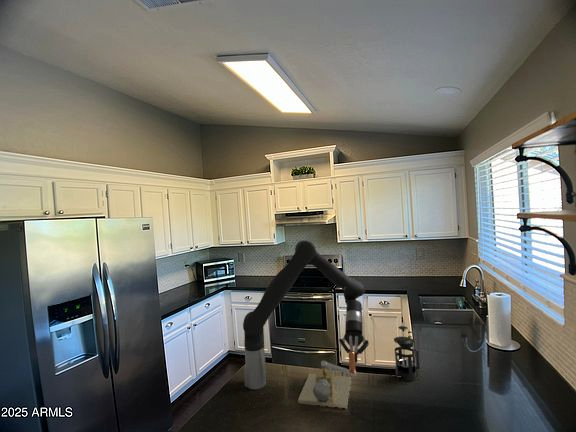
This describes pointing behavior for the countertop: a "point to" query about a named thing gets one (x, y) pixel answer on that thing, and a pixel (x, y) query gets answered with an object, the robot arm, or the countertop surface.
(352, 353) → the valve lever
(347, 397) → the valve
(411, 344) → the french press
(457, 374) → the countertop surface
